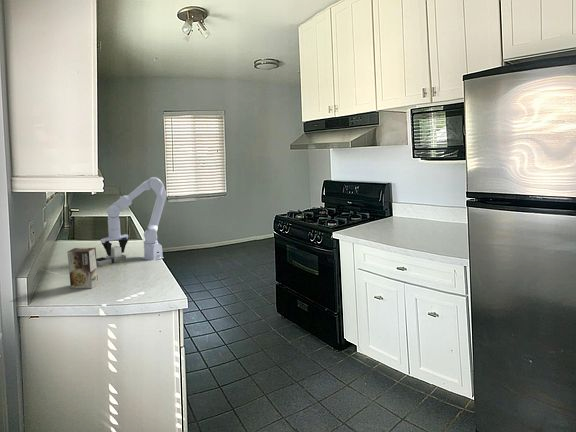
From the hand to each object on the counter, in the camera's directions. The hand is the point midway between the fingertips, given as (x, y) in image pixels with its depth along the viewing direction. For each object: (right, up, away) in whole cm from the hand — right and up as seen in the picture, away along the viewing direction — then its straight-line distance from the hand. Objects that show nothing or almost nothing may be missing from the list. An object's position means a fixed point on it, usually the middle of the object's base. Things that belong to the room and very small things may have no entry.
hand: (115, 254), depth 203 cm
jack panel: (-2, -5, -3) cm, 6 cm away
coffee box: (+4, -10, -38) cm, 40 cm away
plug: (0, -3, 0) cm, 3 cm away
